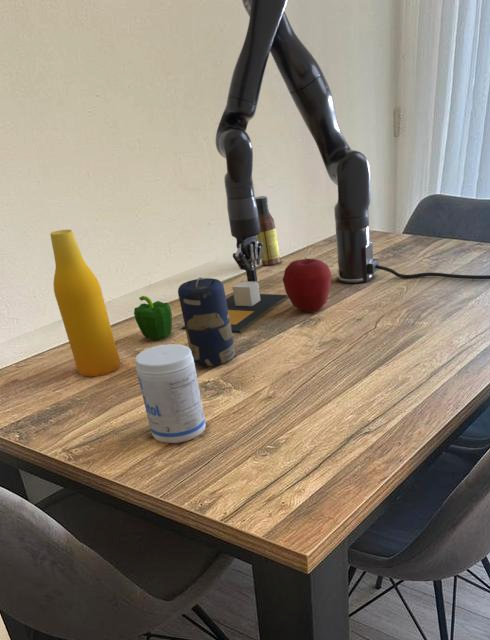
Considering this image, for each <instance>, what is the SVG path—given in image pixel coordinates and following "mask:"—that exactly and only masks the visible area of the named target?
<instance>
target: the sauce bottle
mask: <svg viewBox="0 0 490 640" xmlns="http://www.w3.org/2000/svg"><path fill="white" fill-rule="evenodd" d="M255 199H256V203H257V210H258V217H259V225H260V233H259V234H258V235H256V236H257V238H258V242H259V243H263V249H262V254H261V260H260V263H261V264H262V265H263V266H275V265H277V264H279V263H281V256H280V255H281V254H280V247H279V241H278V236H277V235H278V234H277V229H276V225H275V224H276V223H275V219H274V217H273V216H272V214H271V213H270V211H269V205H268V201H269V200H268V196H266V195H261V196H255Z"/></svg>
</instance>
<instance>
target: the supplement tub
mask: <svg viewBox="0 0 490 640" xmlns="http://www.w3.org/2000/svg"><path fill="white" fill-rule="evenodd" d="M134 361H135V369H136V373H137V378H138V382H139V387H140V392H141V395H142V399H143V403H144V409H145V412H146V416H147V420H148V424H149V428H150V433H151V435H152V436H153V438H154V439H155V440H157V441H159V442H162V443H167V444H179V443H185V442H188V441H191V440H193V439H195V438H197V437H198V436H200V435H202V434H203V432H204V431H205V429H206V425H207V424H206V418H205V413H204V407H203V401H202V396H201V391H200V386H199V380H198V374H197V369H196V364H195V363H194V359H193V356H192V353H191V350H190V348H189V346H186V345H183V344H175V343H173V344H172V343H171V344H161V345H155V346H152V347H149V348H146V349H144V350H142V351H140V352H139V353H137V355H136V356H135V359H134Z"/></svg>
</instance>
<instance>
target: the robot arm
mask: <svg viewBox="0 0 490 640" xmlns="http://www.w3.org/2000/svg"><path fill="white" fill-rule="evenodd" d="M241 1H242V5H243V8H244V9H245V11H246V13H247V15H248V17H249V20H248V26H247V30H246V35H245V38H244V42H243V44H242V48H241V50H240V52H239V55H238V57H237V59H236V63H235V65H234V67H233V68H234V69H233V72H232V76H231V80H230V84H229V88H228V94H227V98H226V104H225V108H224V110H223V112H222V114H221V117H220V121H219V123H218V126H217V129H216V133H215V147H216V150H217V153H218V154H219V155H220V156H221V157H222V158H224V159H225V162H226V173H225V175H224V178H223V179H224V189H225V195H226V209H227V215H228V221H229V229H230V233H231V234H230V235H231V237H233V238H235V240H236V245H235V246H236V249H237V250H236V252H233V253H232V258H233V260H234V261H235V262H236V264H237V266H238V267H239V269H240V270H243V271H245V273H246V280H247V281H251V282H258V283H259V280H258V275H257V269H258V265H260V264H261V254H262V249H263V243H259V242H258V238H257V235H258V234H259V233H260V225H259V217H258V210H257V203H256V199H255V197H256V195H255V187H254V180H253V165H254V151H253V144H252V140H251V137H250V136H249V134H248V132H247V129H248V125H249V123H250V121H251V120H253V118H254V117H255V115H256V112H257V107H258V103H259V99H260V98H259V97H260V94H261V90H262V85H263V80H264V76H265V72H266V67H267V65H268V64H267V63H268V59H269V57H270V54H271V57H272V58H273V61H274V64H275V65H276V67H277V70H278V72H279V74H280V76H281V78H282V80H283V82H284V84H285V86H286V88H287V91H288V93H289V95H290V97H291V99H292V101H293V103H294V105H295V106H296V109H297V111H298V112H299V114H300V116H301V118H302V120H303V122H304V124H305V126H306V128H307V129H308V131H309V133H310V135H311V136H312V139H313V140H314V142H315V144H316V146H317V147H316V148H317V149H318V152H319V154H320V157H321V159H322V162H323V165H324V167H325V170H326V173H327V175H328V177H329V178H330V180H331V182H332V183H334V185H336V186H337V203H336V204H335V205H334V207H333V210H334V213H333V214H334V224H335V225H334V226H335V227H334V228H335V240H336V253H337V266H338V270H337V275H338V280H339V281H340V282H341V283H345V284H358V283H367V282H369V281H370V280H371V279H373V277H374V276H375V273H376V272H377V271H379V270H381V271H385V272H389V273H391V274H392V275H394V276H395V277H398V278H401V279H414V278H422V277H439V278H447V279H448V278H449V279H450V278H451V279H461V280H462V279H465V280H490V275H489V274H486V275H485V274H484V275H480V274H479V275H478V274H474V275H473V274H453V273H444V272H421V273H413V274H404V273H403V274H402V273H399V272H398V271H396V270H394V269H392V268H390V267H387V266H383V265H380V264H379V263H380V262H379V261H380V259H379V258H374V249H373V248H374V247H373V246H374V245H373V242H372V241H371V237H370V236H371V235H370V216H369V207H370V204H371V169H370V167H371V166H370V164H369V160H368V157H367V156H366V155H365V154H364V153H362V152H361V151H358V150H355V149H354V150H353V149H352V148H351V147H350V145H349V144H348V141H347V140H346V138H345V137H344V134H343V133H342V130H341V128H340V125H339V123H338V119H337V118H338V117H337V113H336V108H335V102H334V98H333V94H332V90H331V88H330V86H329V84H328V81H327V79H326V77H325V74H324V72H323V70H322V69H321V66H320V65H319V63H318V61H317V59H316V58H315V57H314V56H313V54H312V52H310V50H309V49H308V48H307V47H306V46H305V44H304V43H303V42H302V41H301V39H300V38H299V37H298V35H297V34H296V32H295V30H294V29H293V27H292V25H291V22H290V20H289V19H288V16H287V14H286V7H287V6H288V2H289V0H241Z"/></svg>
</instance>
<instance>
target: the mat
mask: <svg viewBox="0 0 490 640" xmlns="http://www.w3.org/2000/svg"><path fill="white" fill-rule="evenodd" d="M286 297H288V295H287V294H272V293H271V294H270V293H260V301H259V302H257V303H256V304H255V305H253V306H236V305H235V299H234V294H232V295H231V296H229V297H228V298H226V302H227V308H228V313H229V319H230V323H231V331H232V333H235V334H239V333H241V332H242V331H241V330H243V329H244V328H246V327H247V326H249V324H251V323H253V322H254V321H255V320H256V319H258V318H259V317H260V316H261V315H263V314H264V313H266V312H267V311H269V310H270V309H271V308H273V307H274V306H275V305H277V304H278V303H279V302H281V301H282V300H283V299H285V298H286ZM182 330H186V329H185V325H184V326H182Z"/></svg>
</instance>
